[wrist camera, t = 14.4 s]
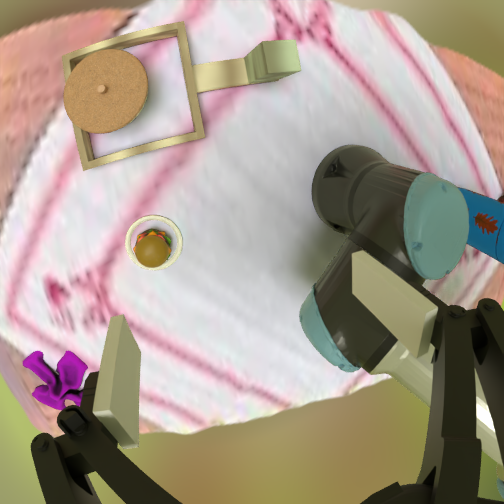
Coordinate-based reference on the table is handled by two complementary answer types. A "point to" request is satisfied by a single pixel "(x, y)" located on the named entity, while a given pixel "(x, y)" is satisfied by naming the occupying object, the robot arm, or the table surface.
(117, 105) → the lidded jar
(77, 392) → the cloth
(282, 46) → the pull frame
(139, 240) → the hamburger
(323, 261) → the table surface
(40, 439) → the robot arm
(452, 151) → the table surface
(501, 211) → the thermos
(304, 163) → the table surface
